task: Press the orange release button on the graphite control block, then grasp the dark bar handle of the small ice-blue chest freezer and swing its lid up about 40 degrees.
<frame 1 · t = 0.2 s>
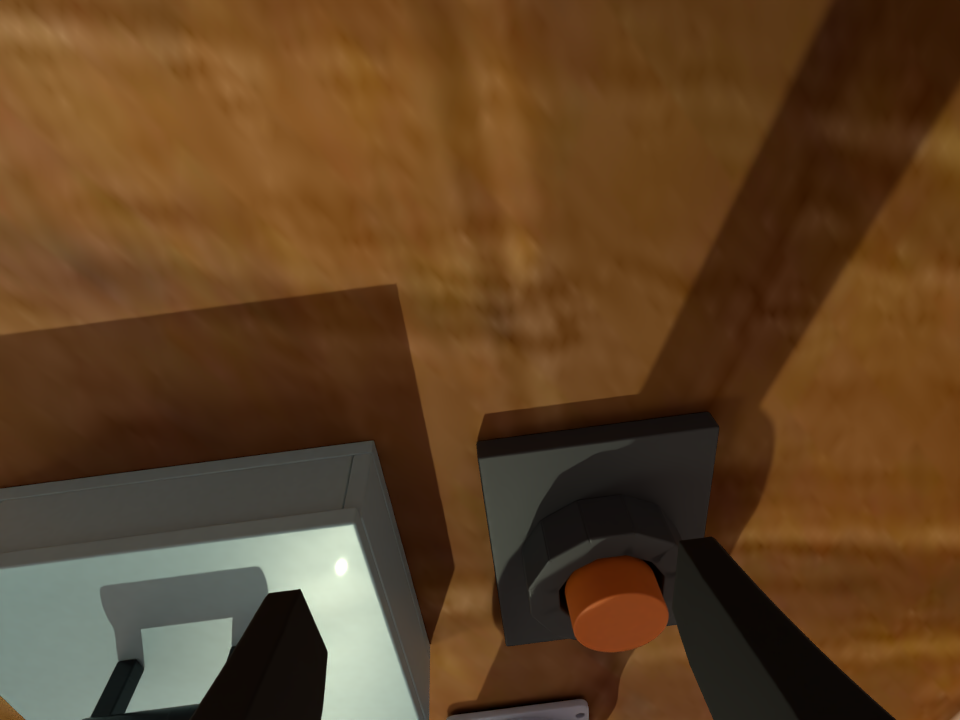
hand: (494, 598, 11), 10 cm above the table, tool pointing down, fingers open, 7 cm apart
release button: (615, 603, 22), point 3 cm above the table, slide at 0.1 cm
freezer lid: (190, 718, 19), point 6 cm above the table, hinge at 0.0°
release block: (593, 533, 25), on the table
freezer: (243, 578, 25), on the table
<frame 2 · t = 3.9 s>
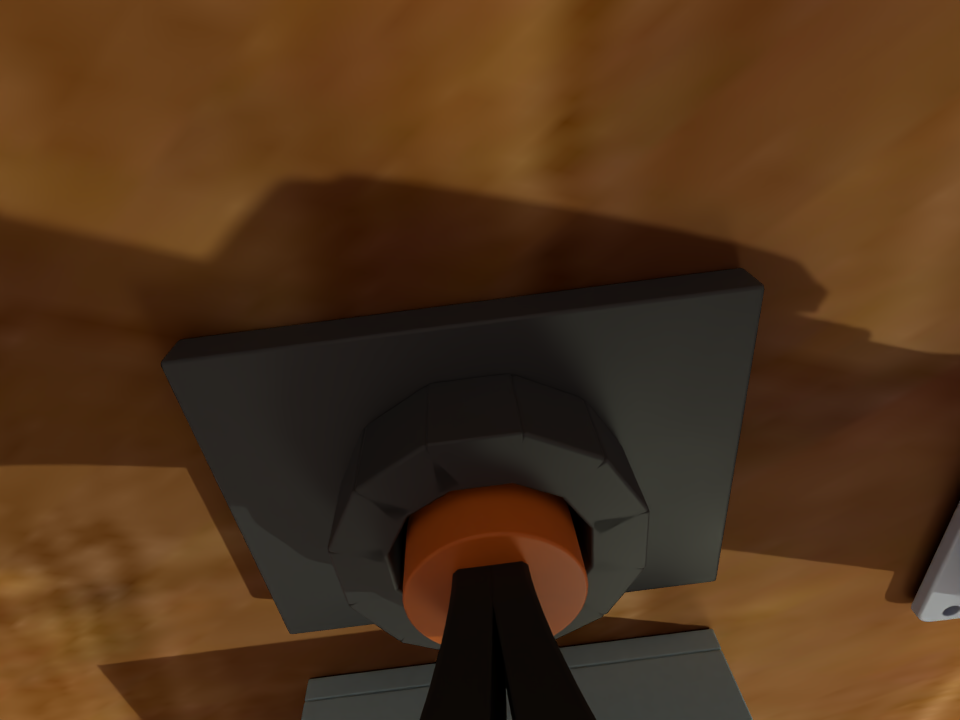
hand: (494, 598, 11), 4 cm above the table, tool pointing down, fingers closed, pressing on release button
release button: (492, 562, 12), point 3 cm above the table, slide at -0.3 cm, touching gripper
release block: (482, 463, 14), on the table
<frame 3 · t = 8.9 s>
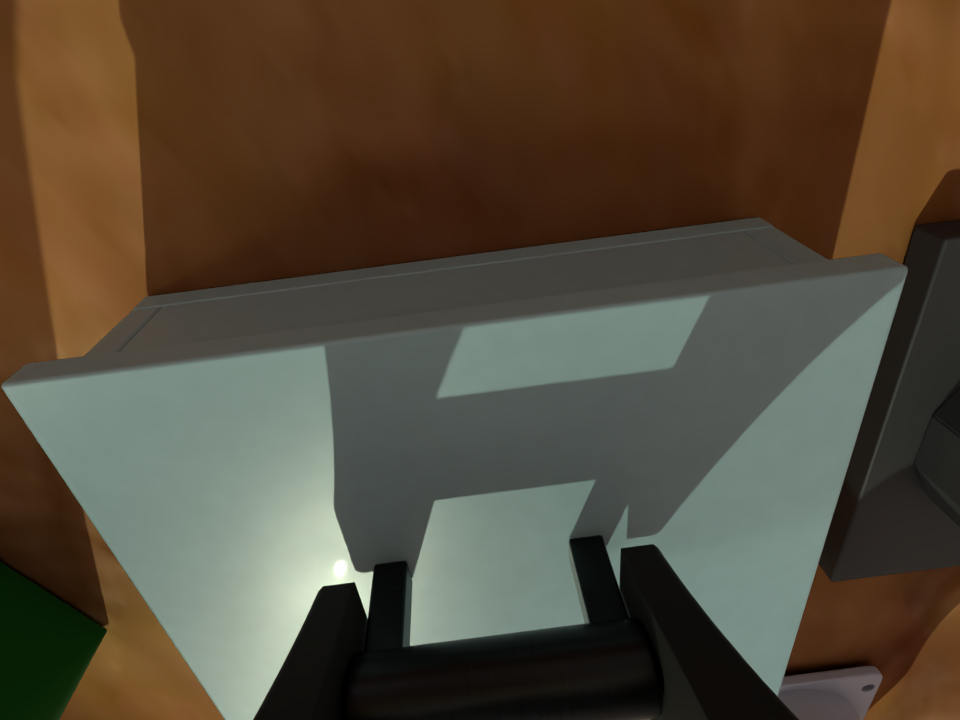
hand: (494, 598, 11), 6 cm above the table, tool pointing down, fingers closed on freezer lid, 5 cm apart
freezer lid: (502, 662, 11), point 6 cm above the table, hinge at 0.0°, touching gripper
freezer: (483, 470, 17), on the table
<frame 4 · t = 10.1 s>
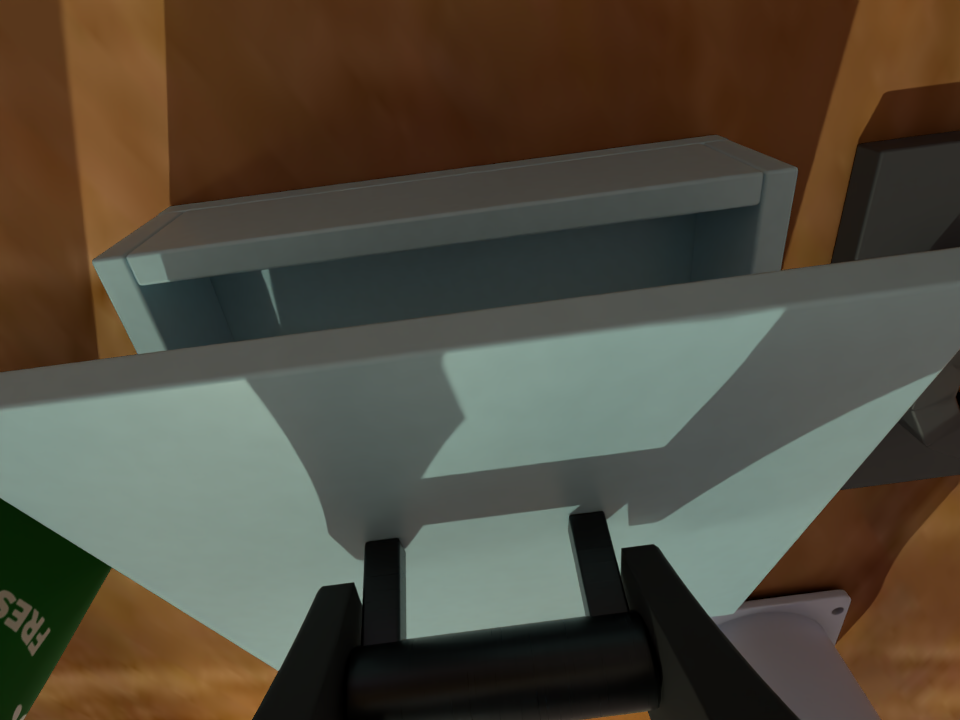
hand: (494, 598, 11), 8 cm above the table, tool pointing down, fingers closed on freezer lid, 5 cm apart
freezer lid: (497, 623, 11), point 8 cm above the table, hinge at 18.4°, touching gripper
release block: (952, 321, 18), on the table
freezer: (473, 383, 18), on the table
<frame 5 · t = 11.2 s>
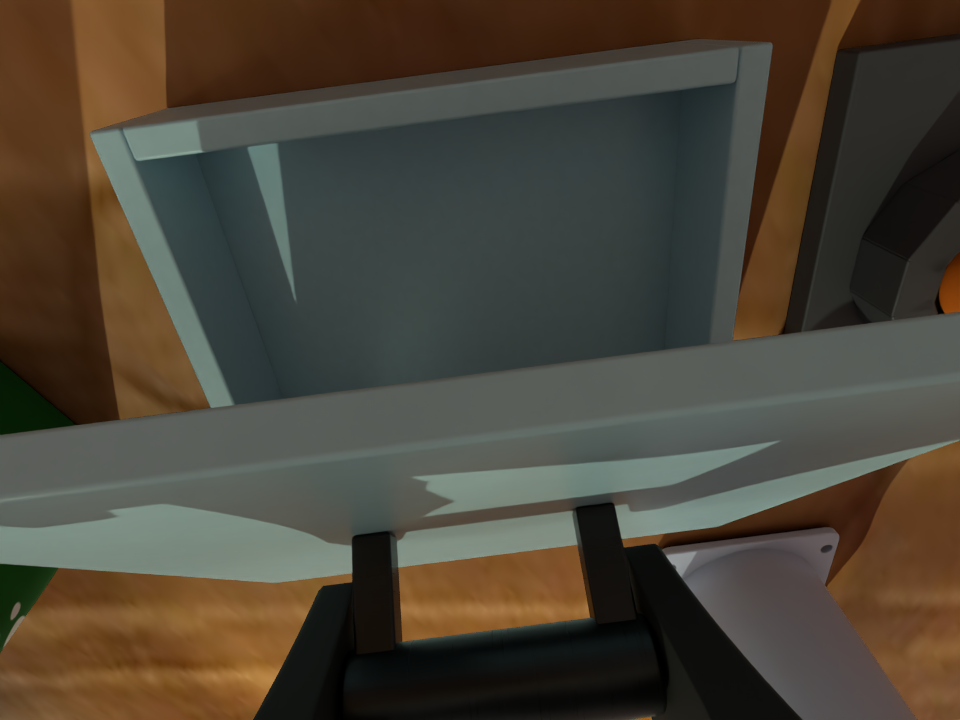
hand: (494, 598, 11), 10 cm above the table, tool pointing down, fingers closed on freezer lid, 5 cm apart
freezer lid: (494, 598, 11), point 10 cm above the table, hinge at 35.8°, touching gripper
release block: (933, 240, 18), on the table
freezer: (463, 300, 18), on the table
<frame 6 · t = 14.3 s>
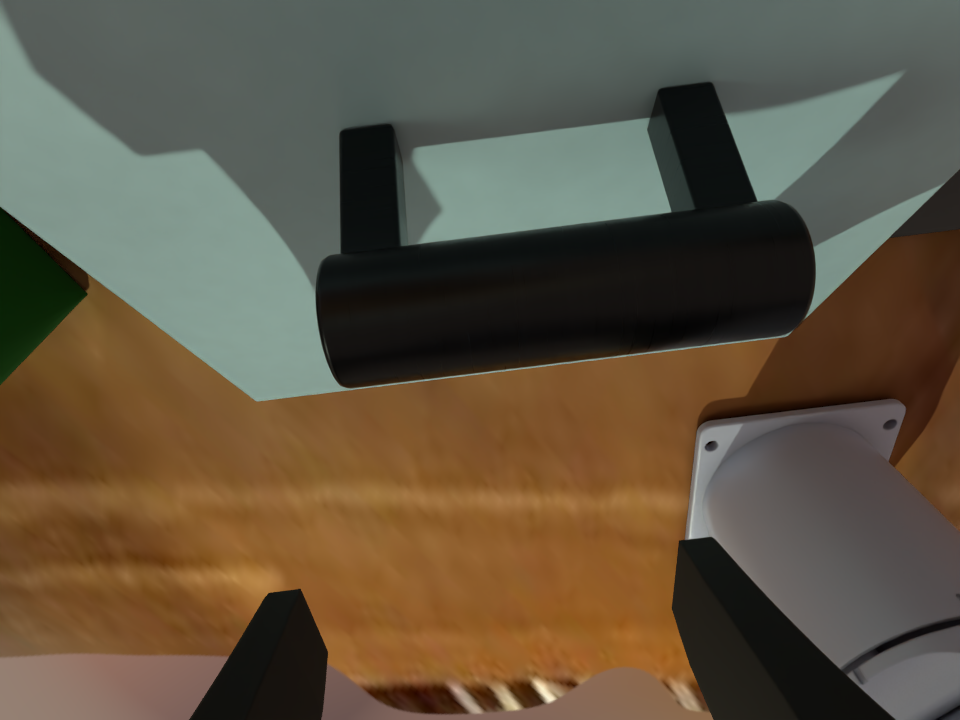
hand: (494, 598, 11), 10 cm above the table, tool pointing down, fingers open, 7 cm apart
freezer lid: (535, 272, 8), point 10 cm above the table, hinge at 35.9°
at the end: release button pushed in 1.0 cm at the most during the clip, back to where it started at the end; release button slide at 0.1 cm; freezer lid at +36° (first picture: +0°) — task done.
